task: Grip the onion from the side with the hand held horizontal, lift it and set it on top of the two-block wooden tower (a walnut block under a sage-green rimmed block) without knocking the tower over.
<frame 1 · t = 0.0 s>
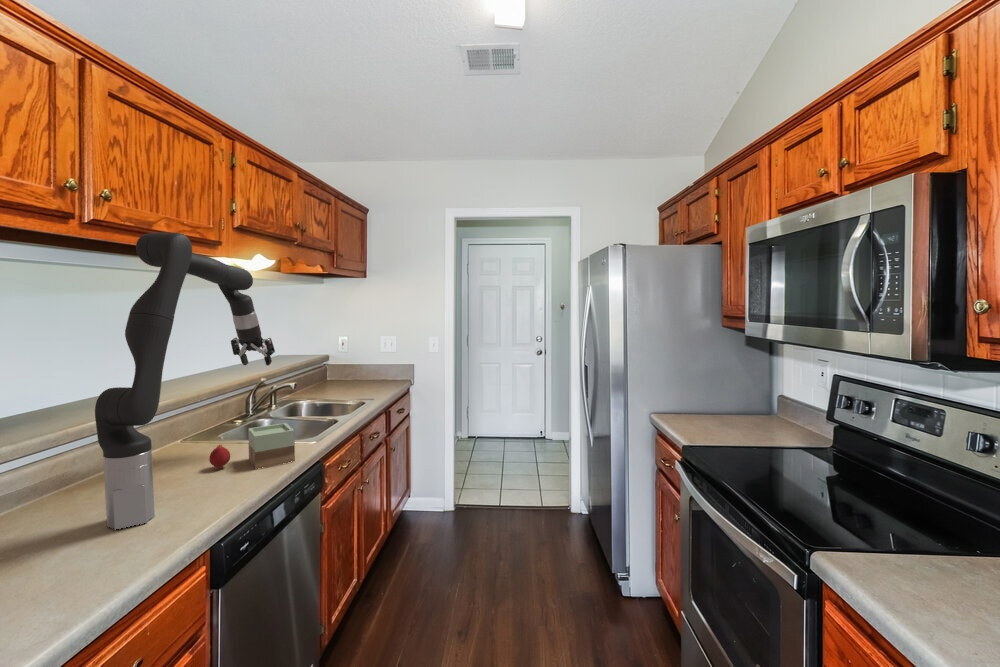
hand: (257, 364, 167), 31 cm above the counter, tool tilted 20°, fingers open, 8 cm apart
tower base: (271, 461, 155), on the counter, touching tower top
onion: (220, 468, 148), on the counter
tower top: (271, 444, 155), point 6 cm above the counter, touching tower base
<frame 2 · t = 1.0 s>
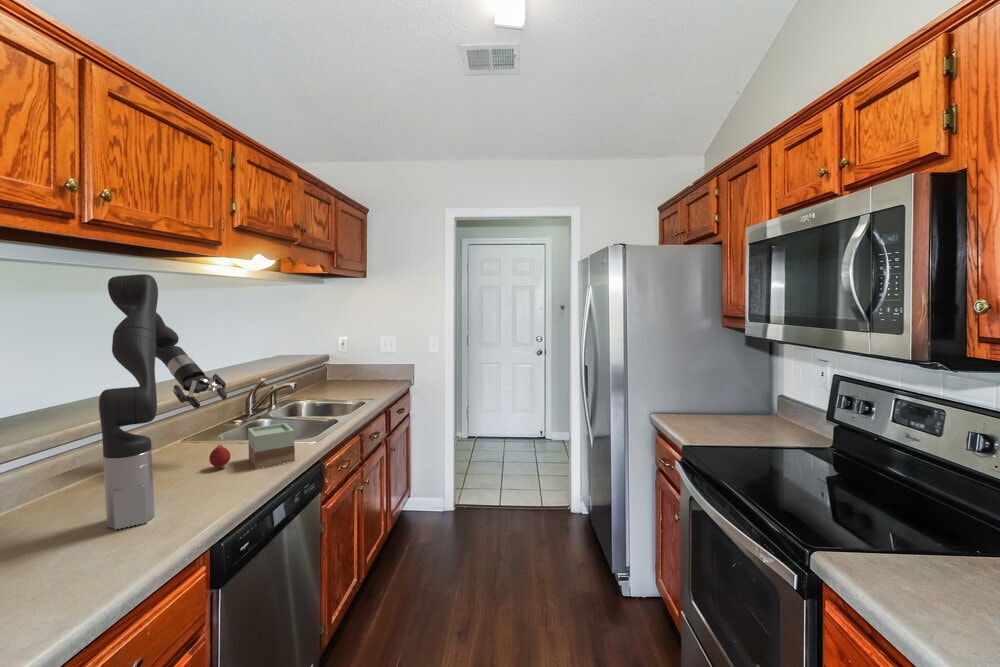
hand: (212, 402, 150), 21 cm above the counter, tool tilted 55°, fingers open, 8 cm apart
nothing on the counter moved.
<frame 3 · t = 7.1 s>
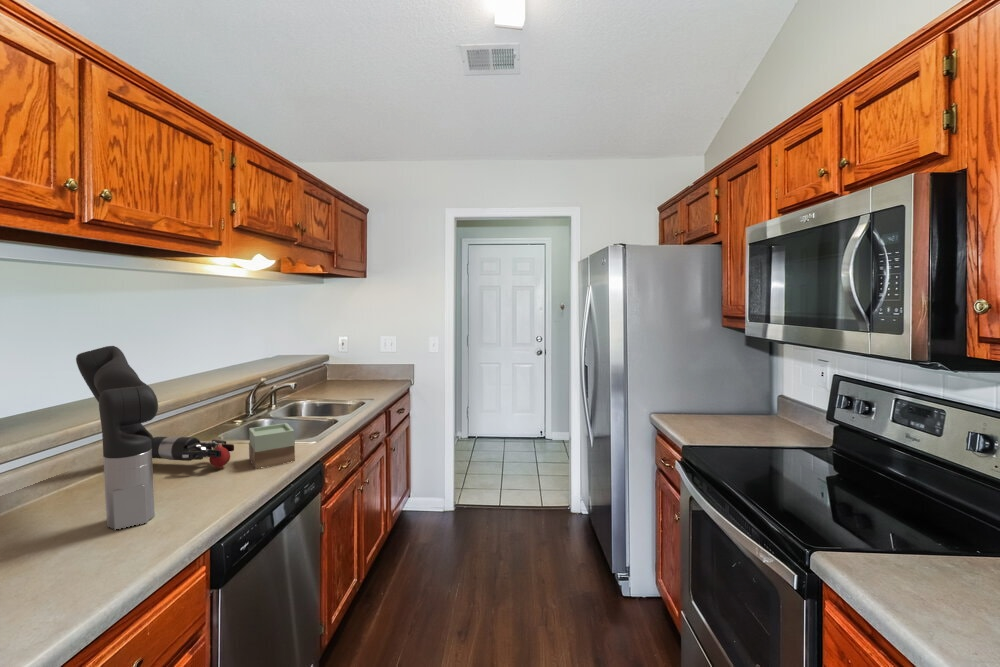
hand: (226, 450, 147), 6 cm above the counter, tool horizontal, fingers closed on onion, 5 cm apart
tower base: (272, 461, 155), on the counter
onion: (220, 468, 148), on the counter, touching gripper
tower top: (272, 444, 155), point 6 cm above the counter
when the fingers open (17 cm above the counter, at t = 12.7 s): onion drops 1 cm, resting on tower top.
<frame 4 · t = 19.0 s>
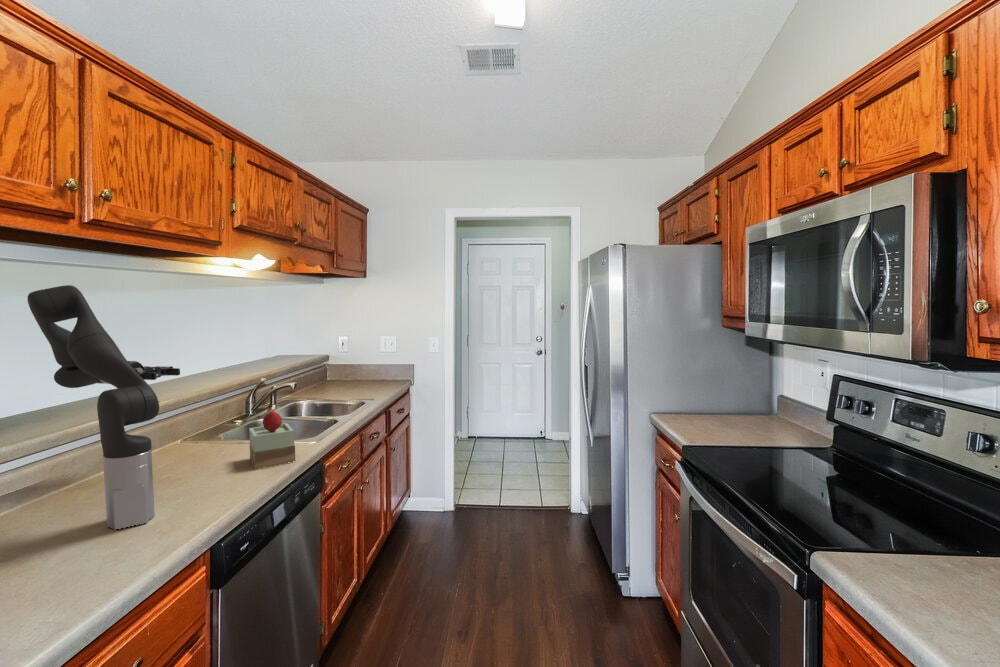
hand: (167, 373, 140), 32 cm above the counter, tool horizontal, fingers open, 8 cm apart
onion: (272, 433, 155), point 10 cm above the counter, touching tower top
tower top: (271, 444, 155), point 6 cm above the counter, touching onion
everything else where it was.
at the end: onion inside the target area on the tower top (0.2 cm from its centre), point 3.9 cm above the tower top's base; tower top tilted 0°; tower top 0.1 cm from the tower base (horizontally) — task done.
